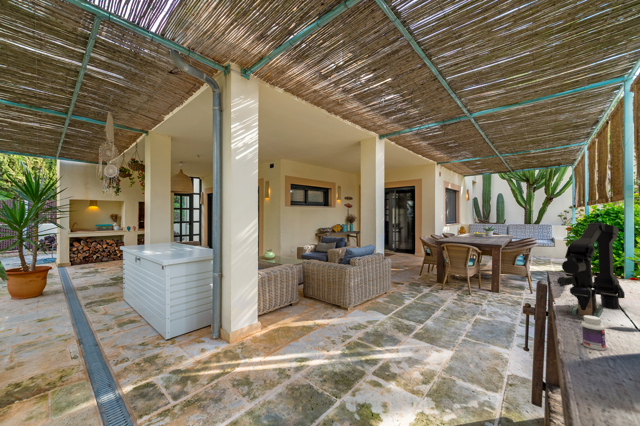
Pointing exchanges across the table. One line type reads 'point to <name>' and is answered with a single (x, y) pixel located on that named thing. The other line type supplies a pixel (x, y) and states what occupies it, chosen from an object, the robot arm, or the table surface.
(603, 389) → the table surface
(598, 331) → the pill bottle
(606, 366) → the table surface
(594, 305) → the mounted finger
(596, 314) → the rail
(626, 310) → the table surface
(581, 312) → the block
